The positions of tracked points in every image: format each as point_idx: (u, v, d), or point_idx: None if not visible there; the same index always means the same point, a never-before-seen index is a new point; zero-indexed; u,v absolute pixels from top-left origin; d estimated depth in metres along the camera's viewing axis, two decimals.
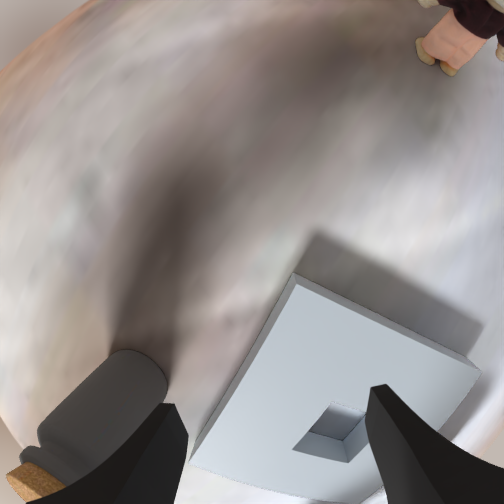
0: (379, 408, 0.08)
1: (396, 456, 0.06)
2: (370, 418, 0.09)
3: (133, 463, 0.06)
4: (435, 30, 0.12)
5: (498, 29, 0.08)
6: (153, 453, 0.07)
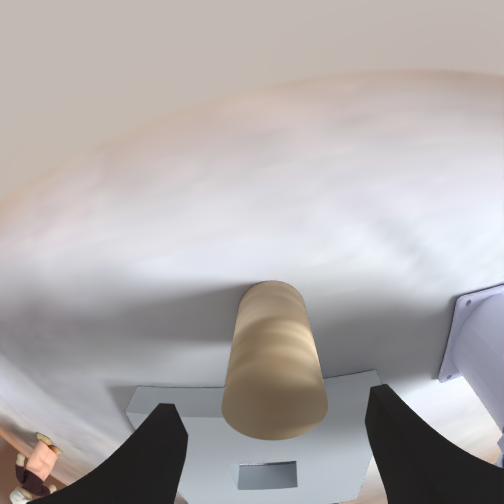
0: (379, 408, 0.08)
1: (396, 456, 0.06)
2: (370, 418, 0.09)
3: (133, 463, 0.06)
4: (50, 470, 0.23)
5: (27, 481, 0.18)
6: (153, 453, 0.07)
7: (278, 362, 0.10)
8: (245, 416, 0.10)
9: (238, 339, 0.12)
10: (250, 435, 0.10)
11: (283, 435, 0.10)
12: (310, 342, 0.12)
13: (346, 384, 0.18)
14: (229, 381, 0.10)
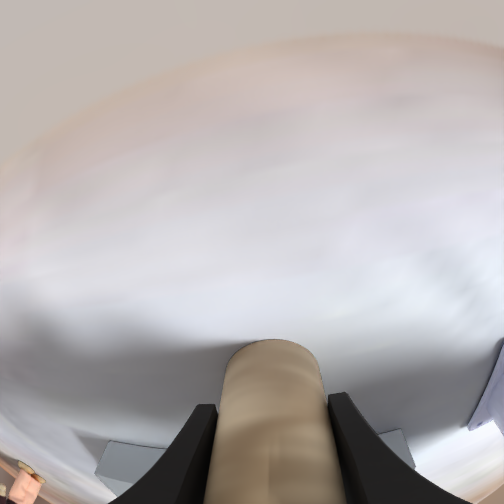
0: (333, 417, 0.08)
1: (347, 468, 0.06)
2: None
3: (183, 470, 0.06)
4: (34, 499, 0.17)
5: None
6: (200, 457, 0.07)
7: None
8: None
9: (220, 451, 0.07)
10: None
11: None
12: (332, 456, 0.06)
13: None
14: None
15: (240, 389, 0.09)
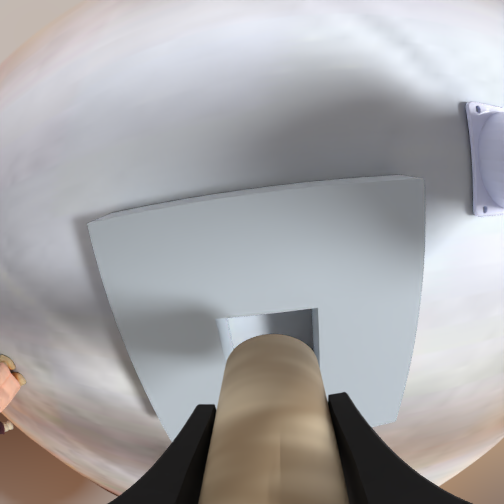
0: (333, 417, 0.08)
1: (347, 468, 0.06)
2: None
3: (183, 470, 0.06)
4: (9, 401, 0.20)
5: None
6: (200, 457, 0.07)
7: None
8: None
9: (219, 440, 0.07)
10: None
11: None
12: (332, 447, 0.06)
13: (369, 177, 0.15)
14: None
15: (240, 380, 0.09)
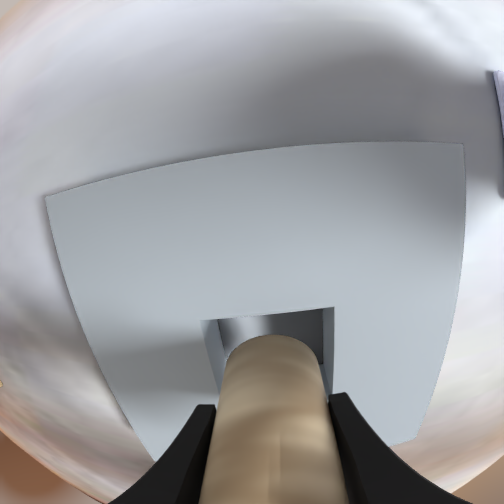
0: (333, 417, 0.08)
1: (347, 468, 0.06)
2: None
3: (183, 470, 0.06)
4: None
5: None
6: (200, 457, 0.07)
7: None
8: None
9: (219, 441, 0.07)
10: None
11: None
12: (332, 448, 0.06)
13: None
14: None
15: (240, 381, 0.09)
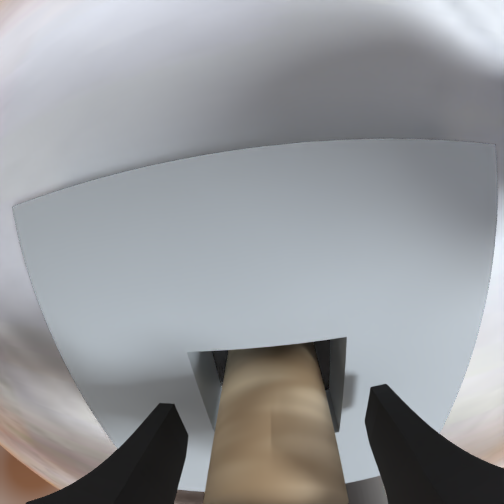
0: (379, 408, 0.08)
1: (396, 456, 0.06)
2: (370, 418, 0.09)
3: (133, 463, 0.06)
4: None
5: None
6: (153, 453, 0.07)
7: (284, 466, 0.05)
8: None
9: (226, 411, 0.08)
10: None
11: None
12: (326, 417, 0.08)
13: None
14: (212, 481, 0.06)
15: (244, 358, 0.10)
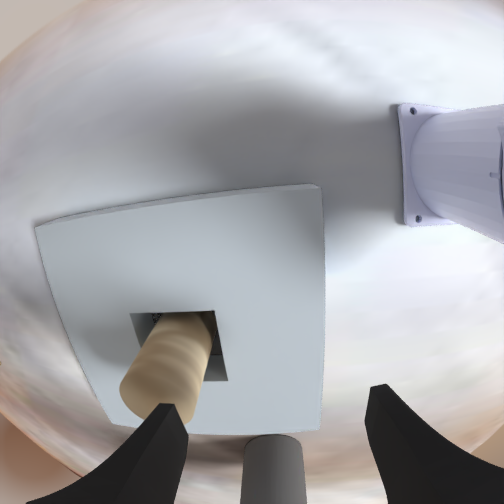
0: (379, 408, 0.08)
1: (396, 456, 0.06)
2: (370, 418, 0.09)
3: (133, 463, 0.06)
4: None
5: None
6: (153, 453, 0.07)
7: (154, 366, 0.13)
8: (136, 402, 0.13)
9: (143, 345, 0.15)
10: (144, 418, 0.13)
11: None
12: (194, 354, 0.15)
13: (271, 187, 0.16)
14: (125, 375, 0.13)
15: (161, 320, 0.17)
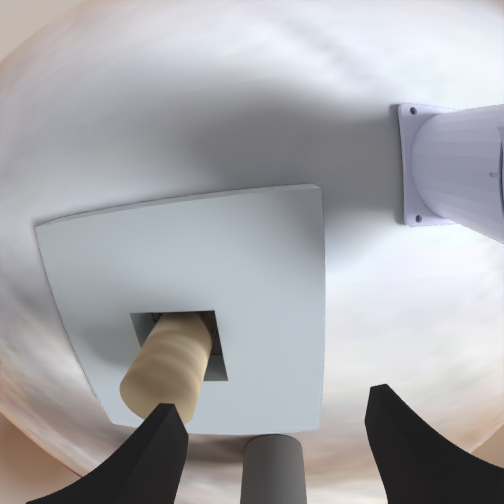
0: (379, 408, 0.08)
1: (396, 456, 0.06)
2: (370, 418, 0.09)
3: (133, 463, 0.06)
4: None
5: None
6: (153, 453, 0.07)
7: (154, 366, 0.13)
8: (136, 402, 0.13)
9: (143, 345, 0.15)
10: (144, 418, 0.13)
11: None
12: (194, 354, 0.15)
13: (271, 187, 0.16)
14: (125, 375, 0.13)
15: (161, 319, 0.17)
